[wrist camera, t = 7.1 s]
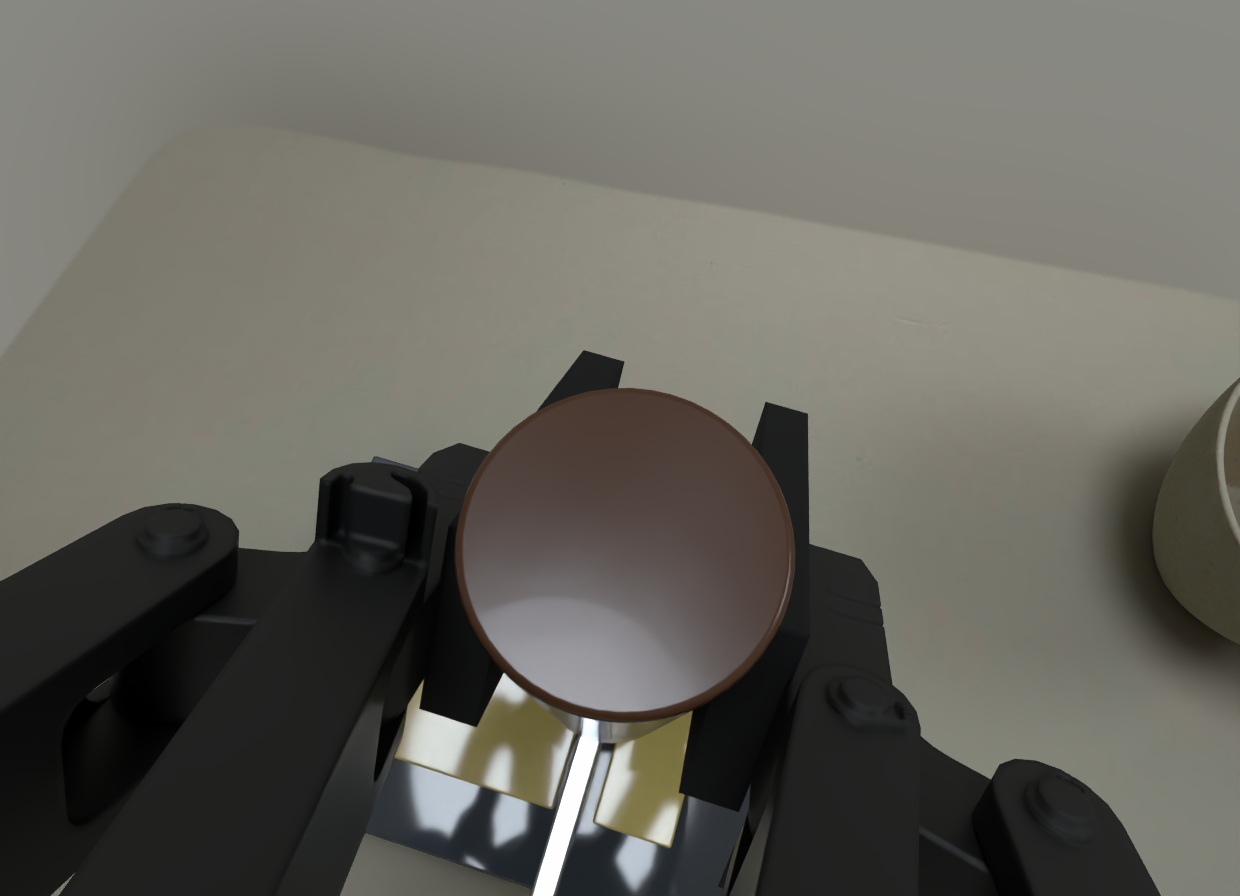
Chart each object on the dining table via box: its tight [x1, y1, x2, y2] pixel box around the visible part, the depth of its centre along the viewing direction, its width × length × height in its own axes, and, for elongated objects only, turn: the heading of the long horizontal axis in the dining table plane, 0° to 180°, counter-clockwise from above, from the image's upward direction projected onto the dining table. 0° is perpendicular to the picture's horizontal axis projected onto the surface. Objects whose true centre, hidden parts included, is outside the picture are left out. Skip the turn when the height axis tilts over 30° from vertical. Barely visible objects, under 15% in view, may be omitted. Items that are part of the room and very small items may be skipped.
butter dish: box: [365, 456, 751, 896], centre depth 25 cm, size 16×11×6 cm
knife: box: [454, 388, 795, 896], centre depth 15 cm, size 3×8×17 cm, turn 163°
